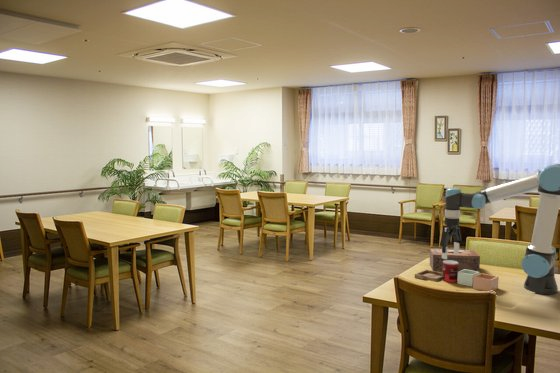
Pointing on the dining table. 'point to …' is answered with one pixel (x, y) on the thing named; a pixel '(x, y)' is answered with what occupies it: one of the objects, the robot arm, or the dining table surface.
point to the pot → (485, 282)
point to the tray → (429, 275)
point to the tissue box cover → (455, 259)
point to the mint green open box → (466, 277)
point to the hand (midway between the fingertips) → (450, 256)
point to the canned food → (450, 271)
